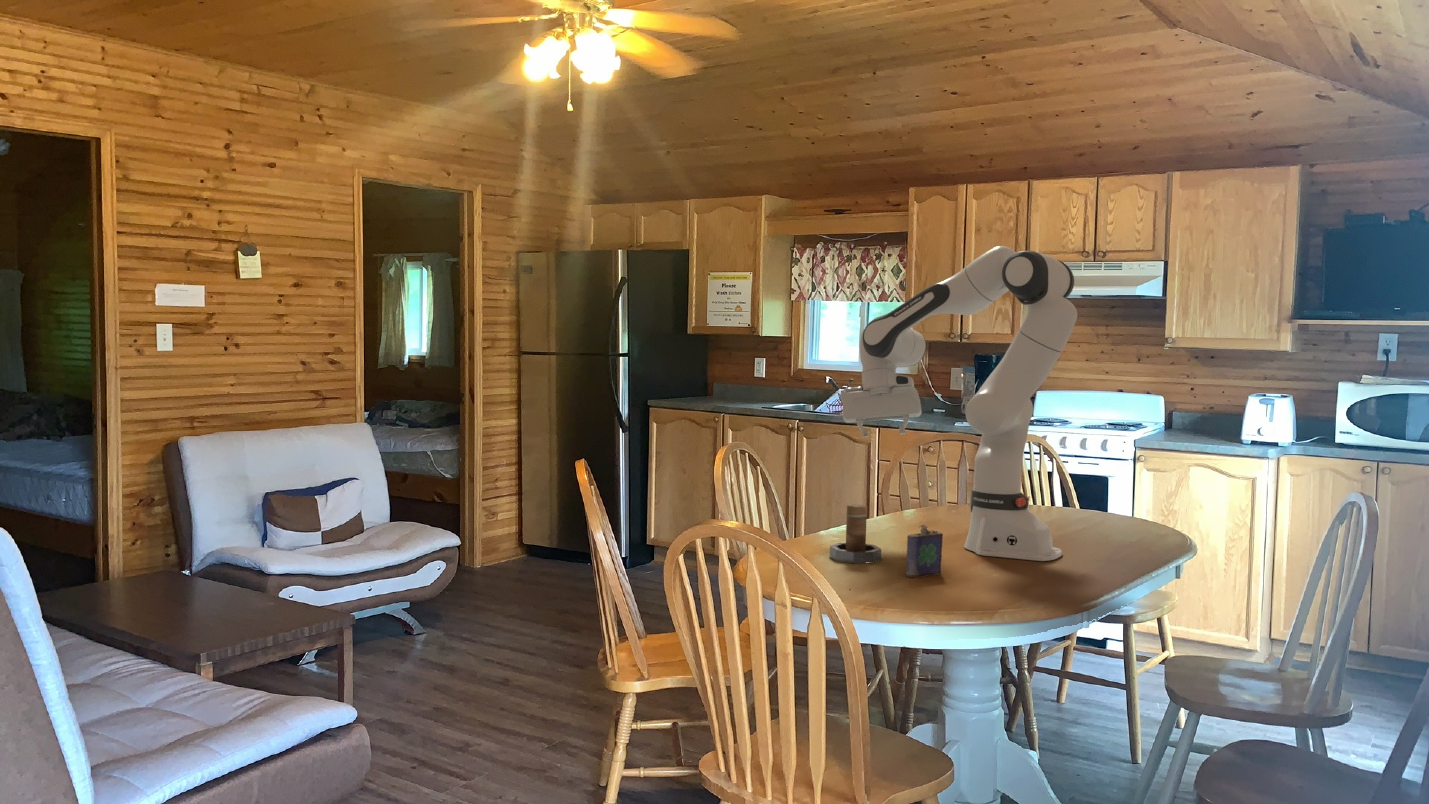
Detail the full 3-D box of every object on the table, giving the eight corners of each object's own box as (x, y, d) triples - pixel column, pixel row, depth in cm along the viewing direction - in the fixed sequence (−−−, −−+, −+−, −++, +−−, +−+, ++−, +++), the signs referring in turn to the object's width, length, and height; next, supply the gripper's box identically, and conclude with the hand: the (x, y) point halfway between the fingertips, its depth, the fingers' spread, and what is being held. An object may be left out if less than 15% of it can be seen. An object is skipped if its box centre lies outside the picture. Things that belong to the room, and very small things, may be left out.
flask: (911, 578, 225) (912, 528, 224) (901, 575, 227) (903, 525, 227) (943, 574, 229) (945, 525, 229) (934, 571, 232) (936, 522, 231)
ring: (886, 557, 245) (887, 546, 245) (866, 565, 236) (866, 554, 236) (844, 551, 251) (844, 540, 251) (823, 558, 242) (823, 548, 242)
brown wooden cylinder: (868, 558, 244) (870, 506, 244) (859, 561, 241) (861, 508, 240) (850, 555, 247) (852, 503, 246) (841, 558, 243) (843, 506, 242)
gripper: (838, 384, 277) (842, 435, 272) (918, 377, 273) (923, 428, 268) (840, 392, 282) (844, 442, 278) (919, 385, 279) (923, 435, 274)
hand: (883, 435), depth 273 cm, fingers open, 8 cm apart
